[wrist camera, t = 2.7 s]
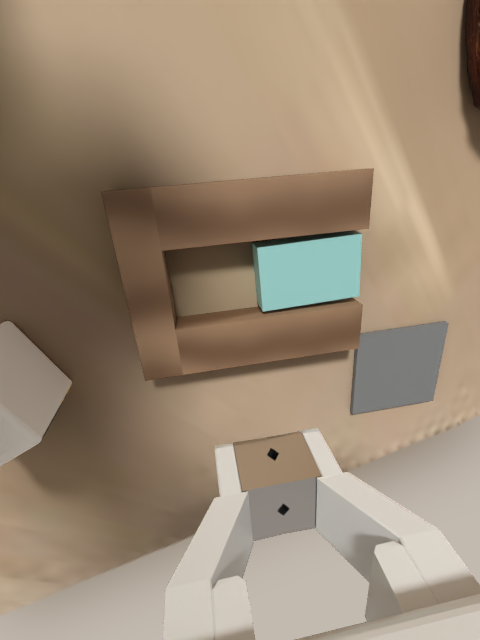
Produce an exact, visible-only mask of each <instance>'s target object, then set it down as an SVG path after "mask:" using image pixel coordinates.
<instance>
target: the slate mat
mask: <svg viewBox="0 0 480 640" xmlns="http://www.w3.org/2000/svg"><path fill="white" fill-rule="evenodd" d="M447 328H448V323H447V322H445V321H443V322H436V323H429V324H422V325H416V326H409V327H402V328H395V329H388V330H381V331H374V332H367V333H361V334H360V343H359V348H358V349H355V355H354V368H353V382H352V395H351V408H350V412H351V413H352V415H353V414H358V413H364V412H370V411H376V410H381V409H387V408H393V407H398V406H404V405H410V404H416V403H421V402H427V401H433V398H434V393H435V388H436V383H437V378H438V373H439V368H440V363H441V358H442V353H443V348H444V343H445V338H446V333H447Z"/></svg>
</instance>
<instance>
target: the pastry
mask: <svg viewBox="0 0 480 640" xmlns="http://www.w3.org/2000/svg"><path fill="white" fill-rule="evenodd" d="M466 46H467V63H468V66H467V73H468V77H469V84H470V87H471V89H472V93H473V99H474V106H475V107H477V108H478V109H480V0H467V5H466Z"/></svg>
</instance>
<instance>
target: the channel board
mask: <svg viewBox="0 0 480 640" xmlns="http://www.w3.org/2000/svg"><path fill="white" fill-rule="evenodd" d="M373 171H374V169H358V170H346V171H334V172H322V173H311V174H299V175H287V176H276V177H264V178H252V179H241V180H229V181H217V182H205V183H194V184H182V185H170V186H159V187H147V188H135V189H124V190H112V191H104V192H101V193H102V197H103V201H104V206H105V210H106V214H107V219H108V223H109V227H110V232H111V236H112V240H113V244H114V249H115V253H116V257H117V262H118V266H119V270H120V274H121V279H122V283H123V287H124V292H125V296H126V300H127V305H128V309H129V313H130V317H131V322H132V326H133V330H134V335H135V339H136V343H137V348H138V352H139V356H140V360H141V365H142V369H143V373H144V378H145V381H146V380H152V379H159V378H166V377H172V376H179V375H186V374H192V373H199V372H205V371H212V370H219V369H225V368H232V367H238V366H245V365H252V364H258V363H265V362H272V361H278V360H285V359H291V358H298V357H305V356H311V355H318V354H325V353H331V352H338V351H344V350H351V349H358V348H359V343H360V331H361V318H362V306H363V305H362V304H361V303H359V302H358V301H356V300H355V299H354V298H352V297H351V298H345V299H339V300H333V301H326V302H320V303H314V304H308V305H301V306H295V307H289V308H283V309H276V310H270V311H264V312H263V311H262V310H261V308H260V307H252V308H245V309H237V310H230V311H222V312H214V313H207V314H199V315H191V316H184V317H176V314H175V308H174V302H173V297H172V291H171V285H170V279H169V273H168V267H167V262H166V256H165V250H175V249H184V248H193V247H203V246H212V245H221V244H230V243H240V242H249V241H258V240H268V239H277V238H286V237H295V236H305V235H314V234H323V233H333V232H342V231H351V230H360V229H369V220H370V208H371V196H372V183H373Z"/></svg>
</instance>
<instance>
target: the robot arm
mask: <svg viewBox="0 0 480 640" xmlns="http://www.w3.org/2000/svg"><path fill="white" fill-rule="evenodd" d="M215 458H216V467H217V476H218V485H219V494H220V497H216V498H214V499H213V501H212V503H211V505H210V507H209V509H208V510H207V512H206V514H205V516H204V518H203V520H202V522H201V524H200V525H199V527H198V529H197V531H196V533H195V535H194V537H193V538H192V540H191V542H190V544H189V546H188V548H187V550H186V552H185V554H184V555H183V557H182V559H181V561H180V563H179V565H178V567H177V568H176V570H175V572H174V574H173V576H172V578H171V580H170V581H169V583H168V585H167V587H166V589H165V603H164V604H165V605H164V622H163V640H255V635H254V629H253V622H252V617H251V610H250V604H249V598H248V591H247V585H246V581H245V580H244V579H242V578H243V575H244V572H245V568H246V565H247V562H248V558H249V556H250V553H251V549H252V546H253V541H256V540H259V539H263V538H268V537H272V536H276V535H280V534H284V533H290V532H295V531H301V530H307V529H312V528H316V530H317V531H318V532H319V533H320V534H321V535H322V536H323V537H324V538H325V539H326V540H327V541H328V542H329V543H330V544H331V545H332V546H333V547H334V548H335V549H336V550H337V551H338V552H339V553H340V554H341V555H342V556H343V557H344V558H345V559H346V560H347V561H348V562H349V563H350V564H351V565H352V566H353V567H354V568H355V569H356V570H357V571H358V572H359V573H360V574H361V575H362V576H363V577H364V578H365V579H366V580H367V581H368V582H369V583H370V584H369V591H368V598H367V606H366V613H365V618H366V620H367V622H364V623H360V624H356V625H352V626H348V627H344V628H340V629H336V630H332V631H328V632H324V633H320V634H316V635H312V636H308V637H304V638H300V639H295V640H480V585H479V583H478V582H477V581H476V580H475V578H474V577H473V575H472V574H471V572H470V571H469V570H468V568H467V567H466V566H465V564H464V563H463V562H462V560H461V559H460V557H459V556H458V555H457V553H456V552H455V551H454V549H453V548H452V547H451V545H450V544H449V542H448V541H447V540H446V538H445V537H444V536H443V534H442V533H441V532H440V530H439V529H437V528H436V527H434V526H433V525H431V524H430V523H428V522H426V521H425V520H423V519H422V518H420V517H419V516H417V515H415V514H414V513H412V512H411V511H409V510H408V509H406V508H404V507H403V506H401V505H400V504H398V503H397V502H395V501H393V500H392V499H390V498H389V497H387V496H385V495H384V494H382V493H381V492H379V491H377V490H376V489H374V488H373V487H371V486H370V485H368V484H366V483H365V482H363V481H362V480H360V479H359V478H357V477H356V476H354V475H352V474H351V473H349V472H344V473H343V472H342V470H341V468H340V466H339V465H338V463H337V461H336V459H335V457H334V456H333V454H332V452H331V450H330V448H329V446H328V445H327V443H326V441H325V439H324V437H323V436H322V434H321V432H320V430H319V429H317V428H314V429H308V430H303V431H300V432H299V431H298V432H293V433H288V434H282V435H277V436H271V437H266V438H261V439H254V440H248V441H241V442H234V443H233V444H232V443H231V444H224V445H217V446H215Z"/></svg>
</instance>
